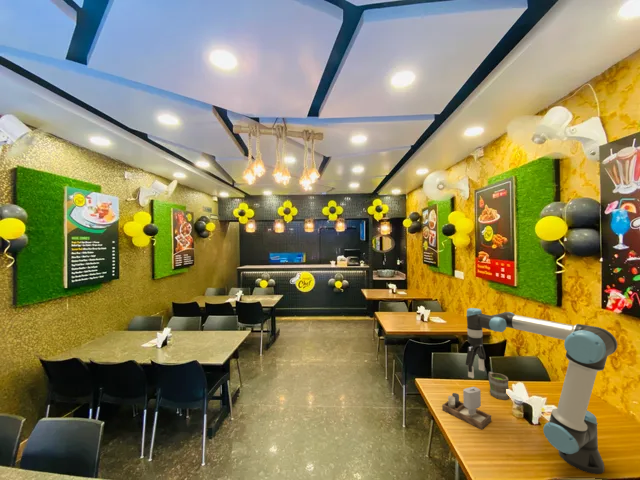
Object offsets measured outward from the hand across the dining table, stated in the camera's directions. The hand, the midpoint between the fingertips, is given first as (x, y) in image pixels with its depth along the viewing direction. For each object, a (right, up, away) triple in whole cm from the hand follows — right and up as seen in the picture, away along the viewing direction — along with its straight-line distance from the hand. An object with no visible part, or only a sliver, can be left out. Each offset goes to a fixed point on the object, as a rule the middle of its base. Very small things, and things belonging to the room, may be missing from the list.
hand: (476, 373), depth 155 cm
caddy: (-5, -25, +3) cm, 26 cm away
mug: (+28, -26, +26) cm, 46 cm away
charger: (-2, -24, 0) cm, 24 cm away
